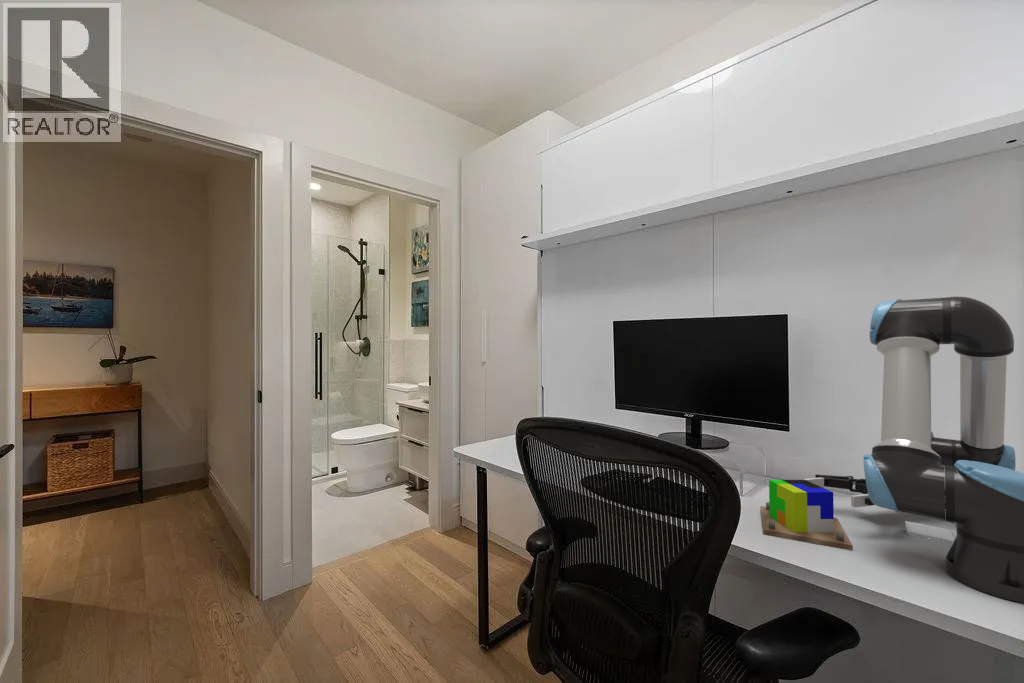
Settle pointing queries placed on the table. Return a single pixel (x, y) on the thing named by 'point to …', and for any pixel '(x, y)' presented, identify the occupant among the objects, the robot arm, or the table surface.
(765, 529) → the base plate
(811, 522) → the puzzle toy
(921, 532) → the external hard drive
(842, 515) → the table surface
